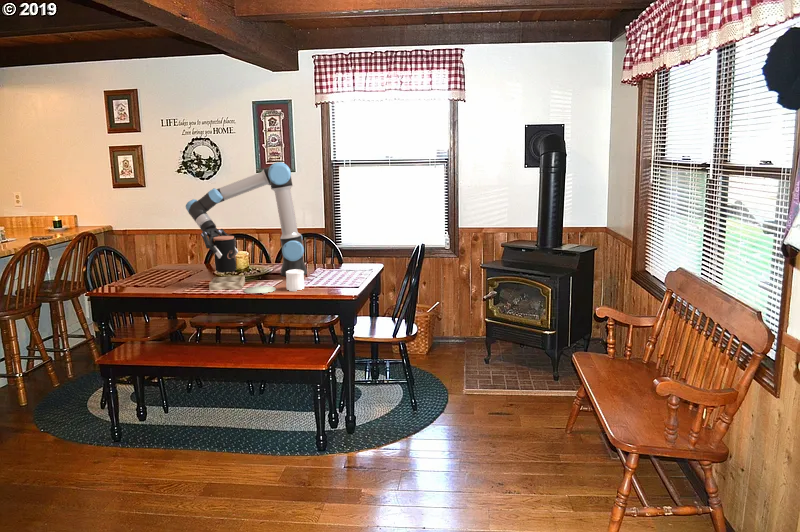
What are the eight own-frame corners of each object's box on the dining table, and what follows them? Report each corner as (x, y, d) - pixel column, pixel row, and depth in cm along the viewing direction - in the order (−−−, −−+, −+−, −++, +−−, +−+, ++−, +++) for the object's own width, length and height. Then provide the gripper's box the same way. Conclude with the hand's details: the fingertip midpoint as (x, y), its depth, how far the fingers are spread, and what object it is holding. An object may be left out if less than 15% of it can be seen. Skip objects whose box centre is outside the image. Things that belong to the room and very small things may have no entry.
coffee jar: (231, 272, 341) (228, 238, 338) (212, 272, 344) (209, 238, 340) (240, 269, 352) (237, 235, 348) (221, 268, 354) (219, 235, 351)
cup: (288, 292, 333) (287, 273, 331) (283, 288, 342) (283, 270, 340) (307, 290, 336) (306, 271, 335) (301, 286, 345) (301, 268, 344)
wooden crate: (245, 282, 358) (244, 276, 357) (241, 288, 342) (241, 282, 341) (214, 283, 356) (213, 277, 355) (209, 290, 340) (209, 283, 339)
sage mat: (276, 286, 346) (276, 285, 346) (274, 293, 331) (274, 292, 331) (245, 287, 344) (245, 286, 344) (242, 294, 329) (242, 293, 329)
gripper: (219, 226, 361) (241, 256, 356) (185, 231, 342) (208, 263, 337) (225, 217, 358) (248, 247, 352) (191, 221, 339) (215, 253, 333)
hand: (228, 255), depth 344 cm, fingers closed on coffee jar, 11 cm apart
